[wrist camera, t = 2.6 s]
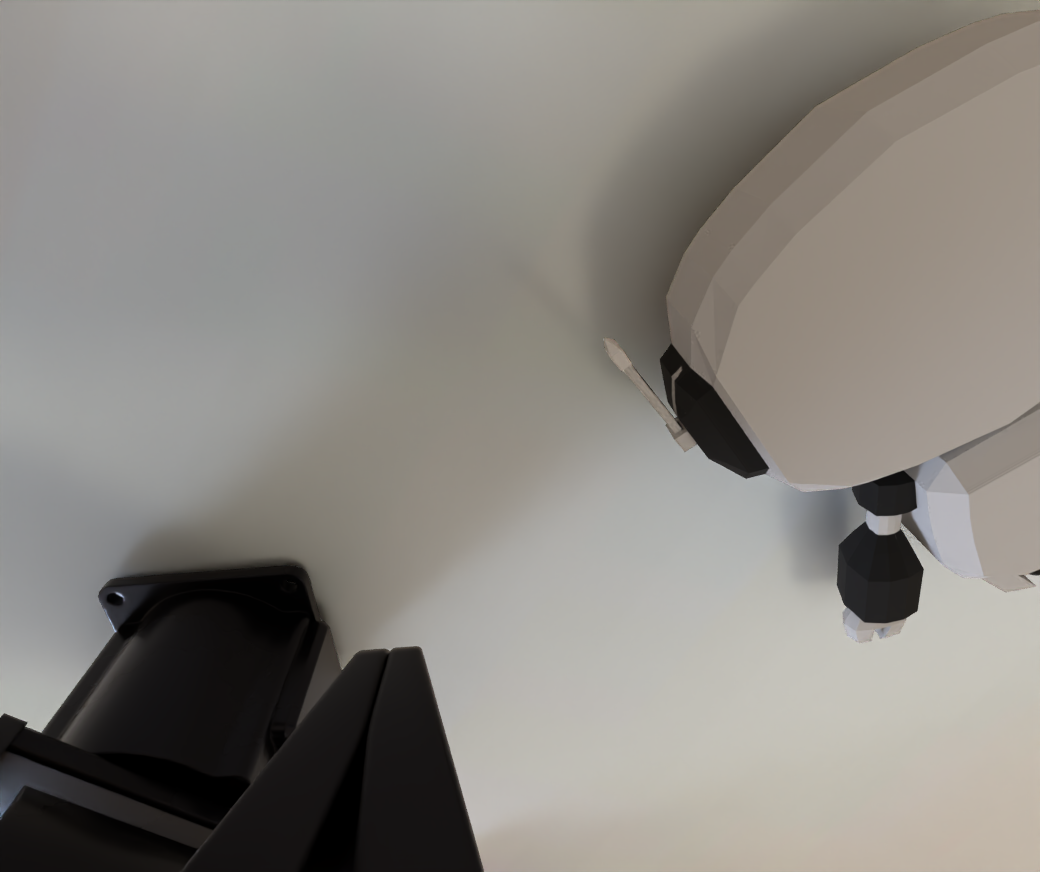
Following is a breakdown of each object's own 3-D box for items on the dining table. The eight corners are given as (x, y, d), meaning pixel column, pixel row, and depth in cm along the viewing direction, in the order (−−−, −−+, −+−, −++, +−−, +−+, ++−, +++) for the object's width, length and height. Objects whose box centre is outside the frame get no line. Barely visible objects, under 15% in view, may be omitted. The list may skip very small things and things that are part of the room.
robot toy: (1162, 395, 19) (1047, -113, 12) (1342, 478, 15) (1313, -197, 9) (803, 593, 22) (558, 273, 16) (876, 704, 18) (590, 340, 12)
